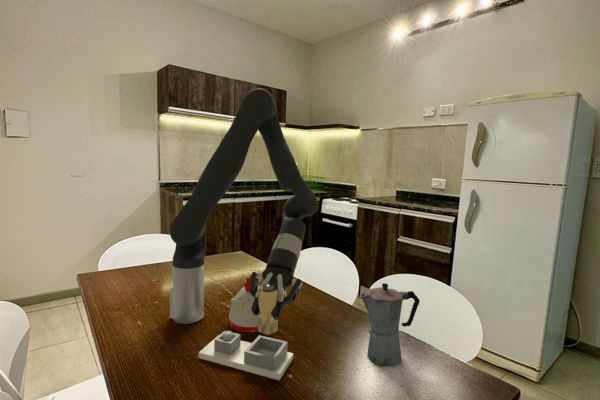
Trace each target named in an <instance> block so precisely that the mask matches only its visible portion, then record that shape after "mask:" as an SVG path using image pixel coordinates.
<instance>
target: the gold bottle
mask: <svg viewBox="0 0 600 400" xmlns="http://www.w3.org/2000/svg"><path fill="white" fill-rule="evenodd" d="M274 286H275V285H274V284H273V283H265V284H263V287H261V288H259V295H258V332H259V333H261V334H263V335H272V334H275V333H276V332H278V329H279V328H278V326H279V324H278V323H279V322H278V321H279V319H278V320H275V319H274V318H273V313H274V310H275V307H276V304H277V302H279V293H278V291H279V290H278V288H276V287H274Z"/></svg>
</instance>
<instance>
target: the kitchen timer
mask: <svg viewBox="0 0 600 400" xmlns="http://www.w3.org/2000/svg"><path fill="white" fill-rule="evenodd" d="M251 276H252V274H251V275H249V277H247V278H246V283H244V286H243V287H242V288H241V289H240V290H239V291H238V292H237V294H236V295H235V297H232V298H231V299H230V305H229V306H230V310H229V313H228V325H229V326H230V327H231V328H232V330H236V331H238V332H242V333H258V332H259V331H258V315H257V316H256V315H254V314H253V313H252V310H251V308H252V305H253V302H254V299H255V297H253V296H252V295H251V294H250V284H251ZM259 284H260V282H258V290H259V288H260V286H261V285H259Z"/></svg>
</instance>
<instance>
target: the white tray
mask: <svg viewBox="0 0 600 400" xmlns="http://www.w3.org/2000/svg"><path fill="white" fill-rule="evenodd" d="M241 337H242V335H241V334H239V333H237V332H236V333H235V332H233V331H231V330H224V331H222V332H221V334H218V335H217V336H216V337H215V338H213V340H211V341H210V342H209V343H207V344H206V345H205V346H204V347H203V348H202V349H201V350H200V351H198V359H201V360H205V361H208V362H212V363H215V364H219V365H222V366H226V367H230V368H234V369H237V370H241V371H244V372H247V373H252V374H255V375H258V376H262V377H266V378H268V379H269V378H270V379H272V380H277V381H281V378H282V377H283V376H284V374H285V372H286V371H287V369H288V368H289V366H290V364H291V363H292V362H293V359H294V353H293V352H289V351H288V341H285V340H282V339H276V338H272V337H268V336H264V335H261V334H260V335H258V336H257V337H256V338H255V339H254V341H252V342H249V341H244V340H241V339H242V338H241Z"/></svg>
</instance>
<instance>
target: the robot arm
mask: <svg viewBox="0 0 600 400" xmlns="http://www.w3.org/2000/svg"><path fill="white" fill-rule="evenodd" d="M277 109H278V108H277V105H276V101H275V99H274V98H273V96H272V95H271V94H270V92H269V91H267V89H264V88H255V89H254V88H253V89H252V90H250V91H248V93H246V94H245V96H244V97H243V99H242V101H241V104H240V105H239V108H238V110H237V112H236V115H235V116H234V119H233V120H232V123H231V125H230V126H229V128H228V130H227V132H226V133H225V135H224V136H223V137H222V140H221V141H220V143H219V144H218V146H217V148H216V149H215V151H214V152H213V154H212V156H211V157H210V159H209V161H208V162H207V164H206V165H205V168H204V169H203V171H202V173H201V175H200V177H199V179H198V181H197V183H196V185H195V187H194V189H193V191H192V193H191V195H190V197H189V198H188V200H187V201H186V203H185V204H184V206H183V207H182V208H181V210H180V211H179V212H178V213H177V215H176V216H175V217H174V218H173V220H172V222H171V224H170V226H169V235H170V238H171V240H172V241H173V242H174V243H175V249H174V252H173V255H172V287H171V288H170V289H169V304H170V305H169V318H170V319H172V320H173V322H175V323H177V324H181V325H182V324H183V325H188V324H193V323H197V322H199V321H201V320H202V319H203V318H204V317H205V316H204V315H205V311H204V310H205V257H206V252H207V221H208V219H209V216H210V215H211V213H212V211H213V209H215V207H216V206H217V204H218V203H219V202H220V201H221V200H222V198H223V197H224V196H225V195H226V193H227V192H228V191H229V190H230V188H231V187H232V185H233V184H234V182H235V181H236V179H237V178H238V175H239V174H240V172H241V170H242V169H243V167H244V165H245V163H246V162H245V161H246V158H247V155H248V151H249V149H250V146H251V144H252V141H253V140H254V137H255V135H256V134H257V132H259V134H260V136H261V138H262V139H263V142H264V144H265V147H266V151H267V155H268V158H269V160H270V161H269V162H270V165H271V168H272V170H273V173H274V175H275V178H276V180H277V182H278V185H279V186H280V187H279V188H281V190H283V191H291V192H292V193H293V194H294V196H292V197H290V198H288V199H287V200H286V201H285V202H284V205H283V207H282V214H281V215H282V216H281V218H282V219H281V222H282V223H281V226H280V230H279V231H278V234H277V237H276V239H275V240H274V243H273V245H272V248H271V252H270V254H269V257H268V260H267V263H266V266H265V269H264V270H263V271H262V272H259V273H258V272H256V271H252V272H251V284H250V294H251V295H252V296H253V297H255V299H254V302H253V305H252V308H251V310H252V313H253V314H254V315H256V316H257V315H258V295H259V290H258V282H259V283H260V282H261V280H263V282H262V283H260V285H259V286H260V288H261V287H263V284H265V283H273V284H274V285H275V286H274V287H276V288H278V290H279V291H278V302H277V304H276V307H275V310H274V313H273V318H274V319H275V320H278V321H279V319H280V318H281V317H282V315H283V311H284V308H285V306H286V305H293V304H294V302H295V300H296V299H297V297H298V295H299V293H301V290H302V288H303V286H304V285H303V282H302V280H301V279H300V278H298V279H297V278H295V277H294V274H295V271H296V269H297V266H298V265H297V264H298V262H299V259H300V256H301V252H302V244H303V241H304V239H305V234H306V232H307V231H306V230H307V229H306V228H307V227H306V224H305V223H304V221H302V219H304V218H307V217H309V216H313V215H315V214H316V213H317V211H318V208H319V203H318V198H317V196H316V195H315V193H314V192H313V190H312V189H311V188H310V186H309V184H307V181H305V180H304V179H303V176H302V175H301V173H300V170H299V167H298V165H297V163H296V161H295V157H294V156H293V153H292V152H291V150H290V147H289V146H288V143H287V141H286V138H285V136H284V133H283V129H282V127H281V123H280V120H279V114H278V110H277ZM289 286H291V289H290V290H289V292H288V295H287V288H288V287H289Z"/></svg>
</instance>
